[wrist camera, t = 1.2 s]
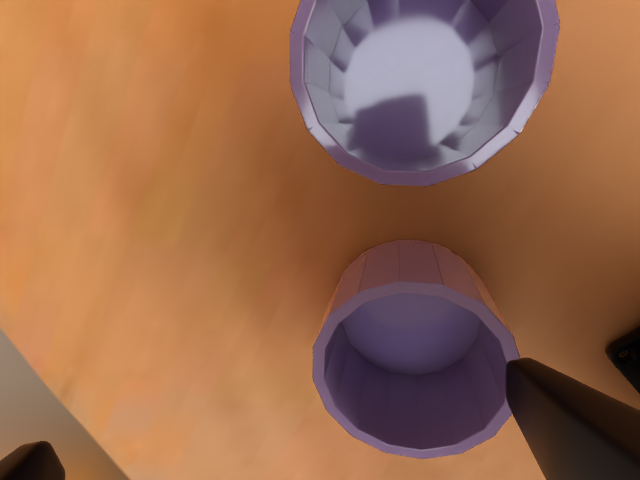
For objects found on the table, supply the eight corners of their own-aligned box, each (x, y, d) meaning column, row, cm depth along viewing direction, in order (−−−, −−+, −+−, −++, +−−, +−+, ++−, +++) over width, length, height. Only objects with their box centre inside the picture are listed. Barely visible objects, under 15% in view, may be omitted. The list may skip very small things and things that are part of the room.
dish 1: (546, 77, 13) (619, 53, 9) (399, 202, 15) (400, 232, 11) (420, -73, 12) (432, -177, 8) (287, 79, 14) (241, 59, 10)
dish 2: (521, 322, 15) (569, 397, 11) (399, 399, 17) (400, 486, 13) (417, 206, 15) (425, 238, 11) (304, 300, 17) (273, 358, 13)
